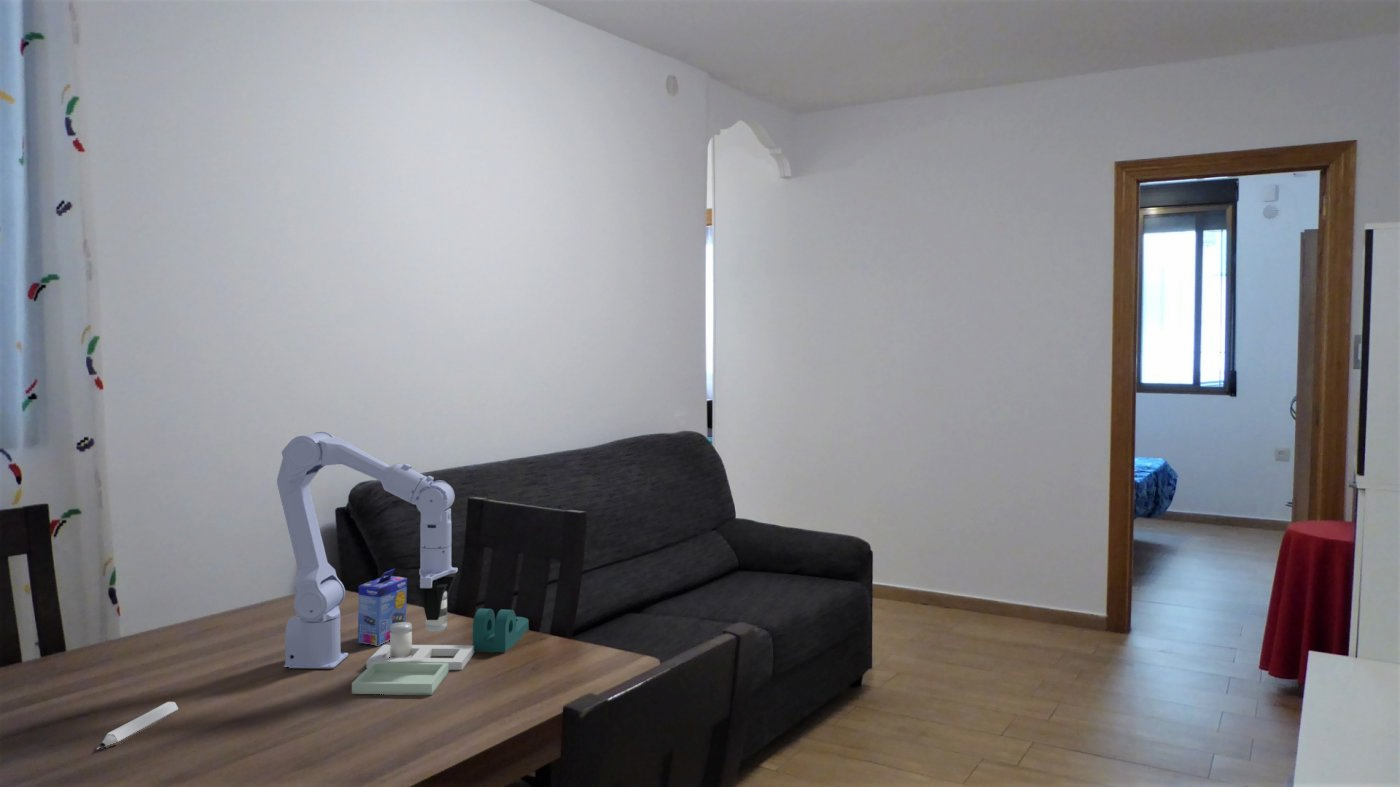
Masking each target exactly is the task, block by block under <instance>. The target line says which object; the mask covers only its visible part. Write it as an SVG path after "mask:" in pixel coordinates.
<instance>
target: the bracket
mask: <svg viewBox="0 0 1400 787" xmlns="http://www.w3.org/2000/svg"><path fill="white" fill-rule="evenodd" d="M529 623H530V622H529V618H526V617H523V616H517V615H516V613H515V610H513V609H500V610H498V612H497V614H496V616H495V611H494V610H493V609H492V608H479V609H477V611H476V612H475V615H474V618H473V624H472V645H474V652H476V651H486V652H485V653H494V652H506V651H507V650H508V649H509V648H510V649H511V648H512V647H513V646H514V645H515V644H516V643H517V642H519V641H520V639H522V638H523V637H524V636H523V634H524V633H525V632H526V631H528V632H529V630H530V628H529ZM510 649H509V650H510ZM509 650H508V651H509ZM508 651H507V652H508ZM507 652H506V653H507Z"/></svg>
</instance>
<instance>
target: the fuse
mask: <svg viewBox="0 0 1400 787" xmlns="http://www.w3.org/2000/svg"><path fill="white" fill-rule="evenodd" d="M412 626H413V624H412V623H411V622H407V621H406V622H398V623H394V624H391V625H390V641H389V642H390V643H389V645H390V658H411V657H412V645H413V638H412V637H413V634H412V633H413V632H412V631H413V627H412Z"/></svg>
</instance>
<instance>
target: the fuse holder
mask: <svg viewBox="0 0 1400 787" xmlns="http://www.w3.org/2000/svg"><path fill="white" fill-rule="evenodd" d="M474 653H475V651H474V645H473V644H471V645H469V644H468V645H467V644H466V645H465V644H464V645H463V644H462V645H461V644H452V645H451V644H443V645H442V644H412V657H411V658H389V657H390V644H382V645H381V646H380V648H378V649H377V650H376V651H375V652H374V653H373V654H372V655H371V656H370V657H369V658H368V659H367V660H366V661H365V663H366V664H365V665H366V666H365V667H366V668H368V667H369V666H370V665H371V664H372V663H373V662H397V663H448V671H463V669H464V668H465V666H466V665H467V664H468V662H469V661H470V660H471V658H472V656H473V655H474ZM366 668H365V669H366Z"/></svg>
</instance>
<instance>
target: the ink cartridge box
mask: <svg viewBox="0 0 1400 787" xmlns="http://www.w3.org/2000/svg"><path fill="white" fill-rule="evenodd" d="M394 572H395V568H393V569H390V570H388V571H386V572H383V573H382V575H381V576H380V577H378V578H376V579H374V580H370V581H367V582H365V583H363V584H360V585H358V608H357V609H358V614H357V615H358V616H357V620H358V621H357V629H358V630H357V643H358V644H362V643H364V644H363V645H367V644H371V645H370V646H372V645H377V646H376V647H379V646H378V645H380V646H382V645H384V644H386V643H385V642H387V641H389V640H390V625H391V624H394V623H398V622H407V597H408V596H407V595H408V594H407V593H408V591H407V590H408V577H402V576H395V575H393V574H394ZM389 642H390V641H389ZM383 643H384V644H383ZM387 643H388V642H387ZM381 644H382V645H381Z"/></svg>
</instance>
